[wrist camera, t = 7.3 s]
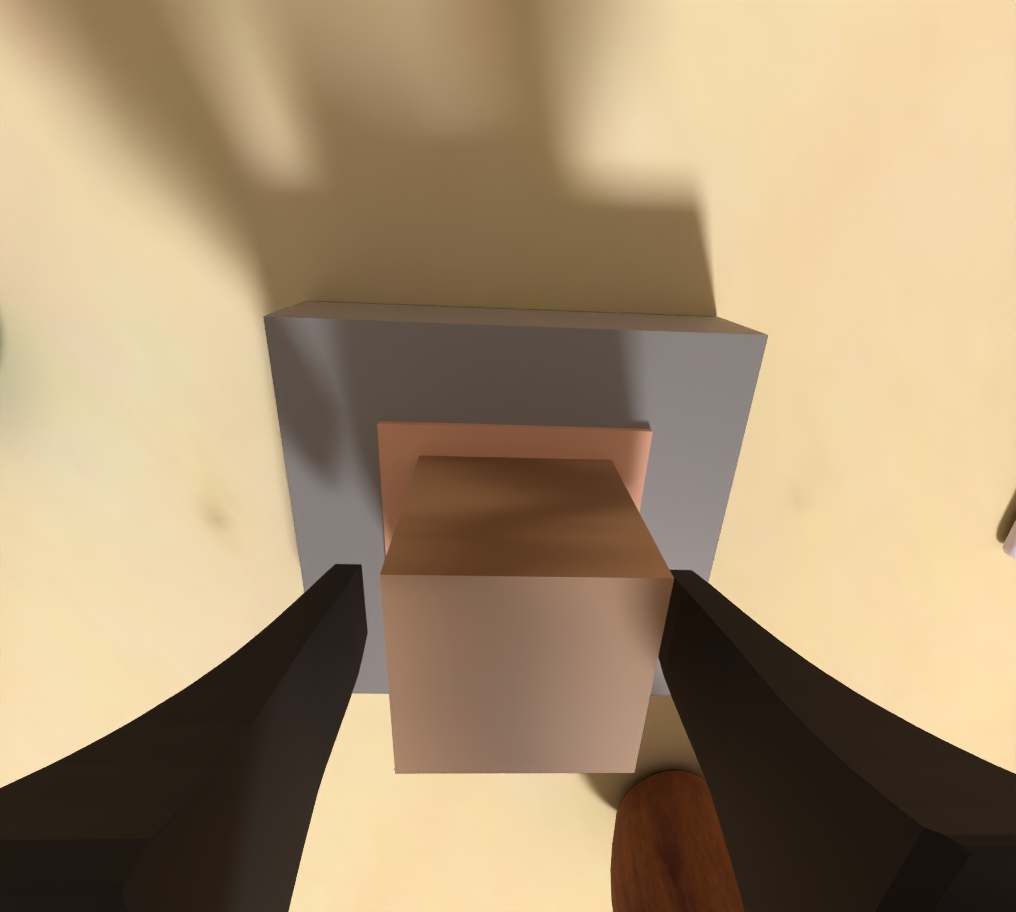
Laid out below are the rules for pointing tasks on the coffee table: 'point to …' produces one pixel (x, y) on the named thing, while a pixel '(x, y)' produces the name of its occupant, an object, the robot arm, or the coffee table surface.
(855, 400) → the coffee table surface
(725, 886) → the wooden figurine
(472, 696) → the walnut cube
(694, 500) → the slate plinth
